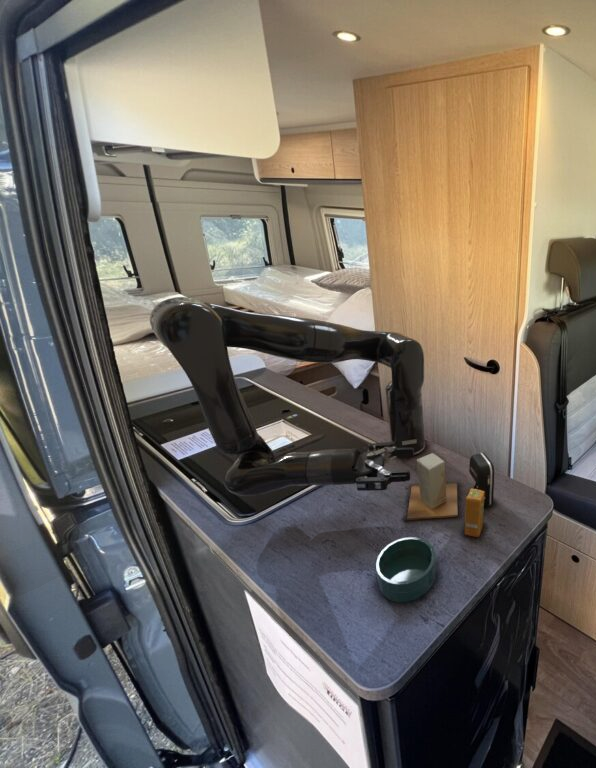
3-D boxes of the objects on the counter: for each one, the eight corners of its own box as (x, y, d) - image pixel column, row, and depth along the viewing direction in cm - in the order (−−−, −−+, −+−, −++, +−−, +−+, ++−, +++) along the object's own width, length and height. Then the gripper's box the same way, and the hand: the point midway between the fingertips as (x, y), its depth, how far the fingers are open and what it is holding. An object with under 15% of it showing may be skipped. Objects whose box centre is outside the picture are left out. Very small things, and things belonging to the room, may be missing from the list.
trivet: (411, 487, 95) (411, 485, 95) (457, 485, 96) (457, 483, 96) (407, 520, 85) (407, 518, 85) (457, 516, 87) (457, 514, 86)
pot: (383, 556, 76) (380, 539, 74) (436, 551, 78) (436, 535, 76) (373, 605, 67) (370, 587, 65) (434, 599, 68) (433, 581, 66)
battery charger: (467, 492, 94) (467, 452, 90) (481, 487, 96) (482, 449, 91) (479, 510, 89) (479, 469, 84) (494, 505, 90) (495, 465, 86)
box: (447, 501, 90) (445, 462, 86) (431, 510, 87) (429, 470, 83) (434, 490, 93) (432, 451, 89) (418, 498, 91) (416, 458, 86)
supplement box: (480, 538, 81) (480, 500, 77) (464, 535, 82) (464, 497, 78) (484, 526, 84) (484, 490, 80) (469, 523, 85) (468, 487, 81)
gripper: (321, 473, 75) (407, 469, 78) (340, 434, 88) (413, 431, 90) (327, 503, 78) (410, 498, 81) (344, 461, 91) (415, 458, 93)
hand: (411, 463), depth 86 cm, fingers open, 8 cm apart
